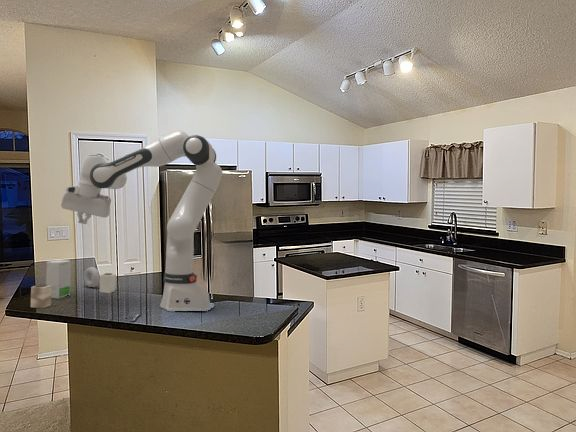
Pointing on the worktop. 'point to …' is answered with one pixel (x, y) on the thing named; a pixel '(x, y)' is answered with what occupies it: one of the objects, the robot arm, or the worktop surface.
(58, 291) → the skincare box
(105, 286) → the off-white marked block
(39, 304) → the birch marked block
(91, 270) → the donut
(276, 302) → the worktop surface
